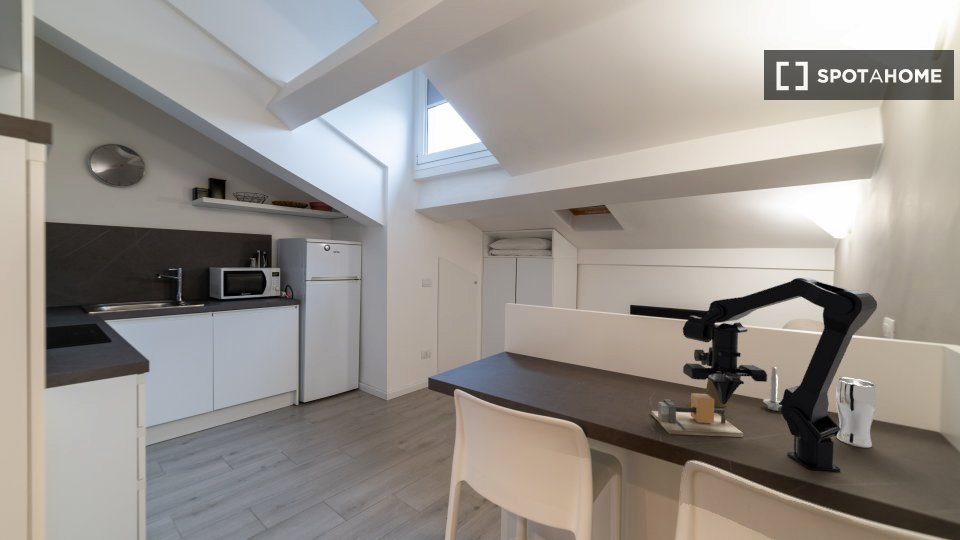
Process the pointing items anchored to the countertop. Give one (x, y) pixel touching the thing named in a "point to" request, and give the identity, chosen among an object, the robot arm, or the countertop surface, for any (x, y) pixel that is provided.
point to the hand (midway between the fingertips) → (723, 403)
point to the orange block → (702, 407)
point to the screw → (773, 392)
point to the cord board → (692, 421)
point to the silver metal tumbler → (855, 411)
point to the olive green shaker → (713, 394)
